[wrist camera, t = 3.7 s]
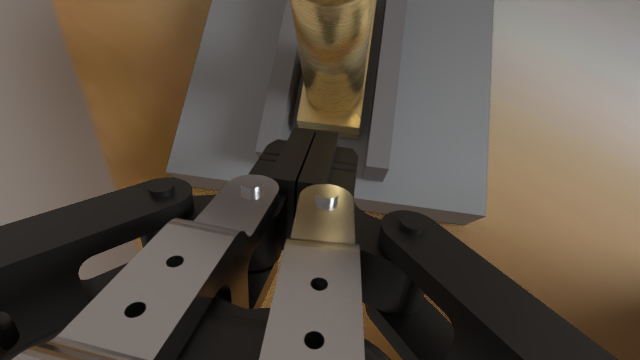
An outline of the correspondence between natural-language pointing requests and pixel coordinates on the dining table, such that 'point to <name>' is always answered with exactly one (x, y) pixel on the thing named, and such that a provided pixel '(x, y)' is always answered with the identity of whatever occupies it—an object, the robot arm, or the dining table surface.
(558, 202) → the dining table surface
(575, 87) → the dining table surface
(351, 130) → the bolt
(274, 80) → the door edge model
